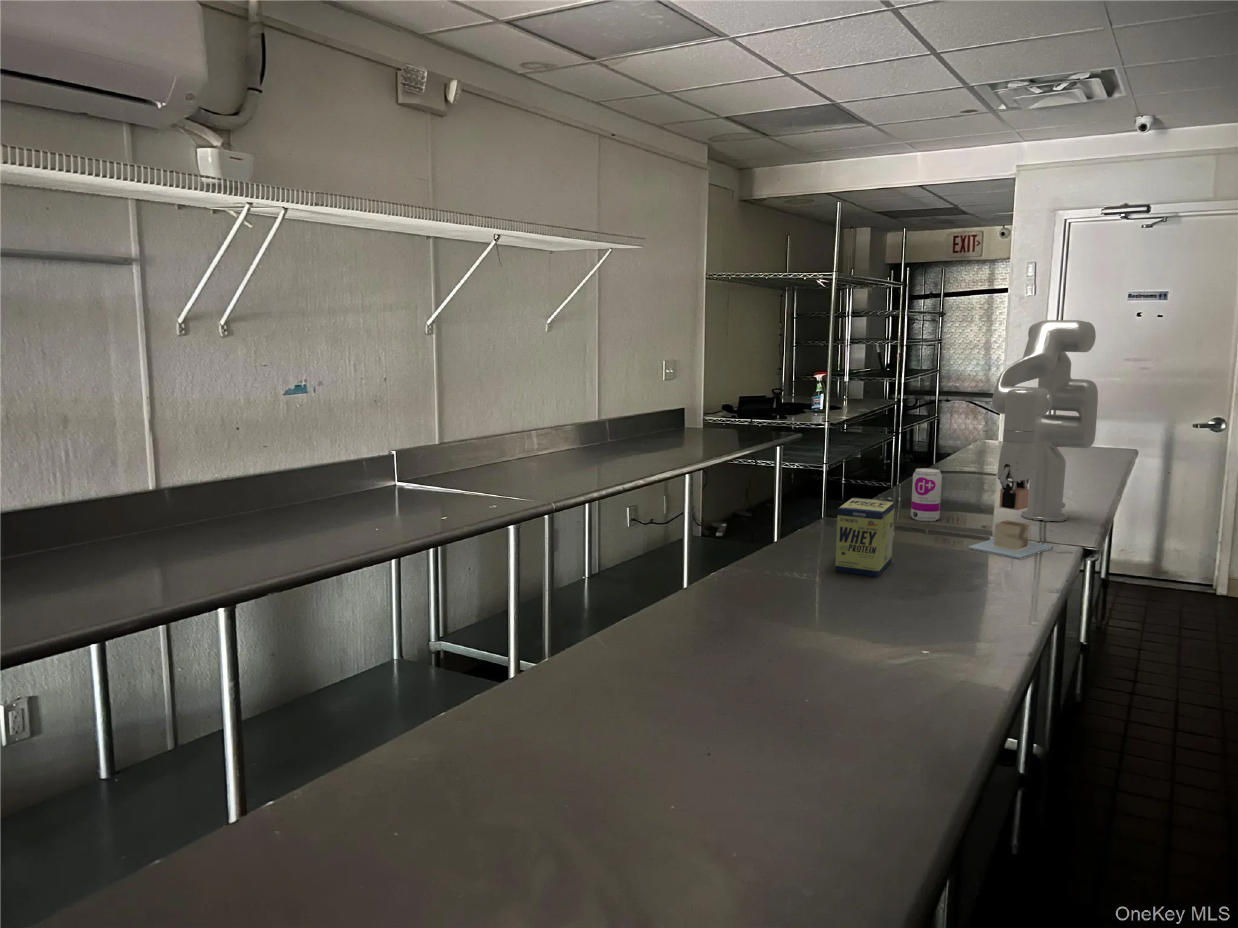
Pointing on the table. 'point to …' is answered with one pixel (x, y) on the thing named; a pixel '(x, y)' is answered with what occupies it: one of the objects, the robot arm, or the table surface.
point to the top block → (1018, 498)
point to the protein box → (864, 536)
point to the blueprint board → (1020, 553)
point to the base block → (1011, 534)
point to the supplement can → (926, 494)
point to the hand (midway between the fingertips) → (1013, 505)
